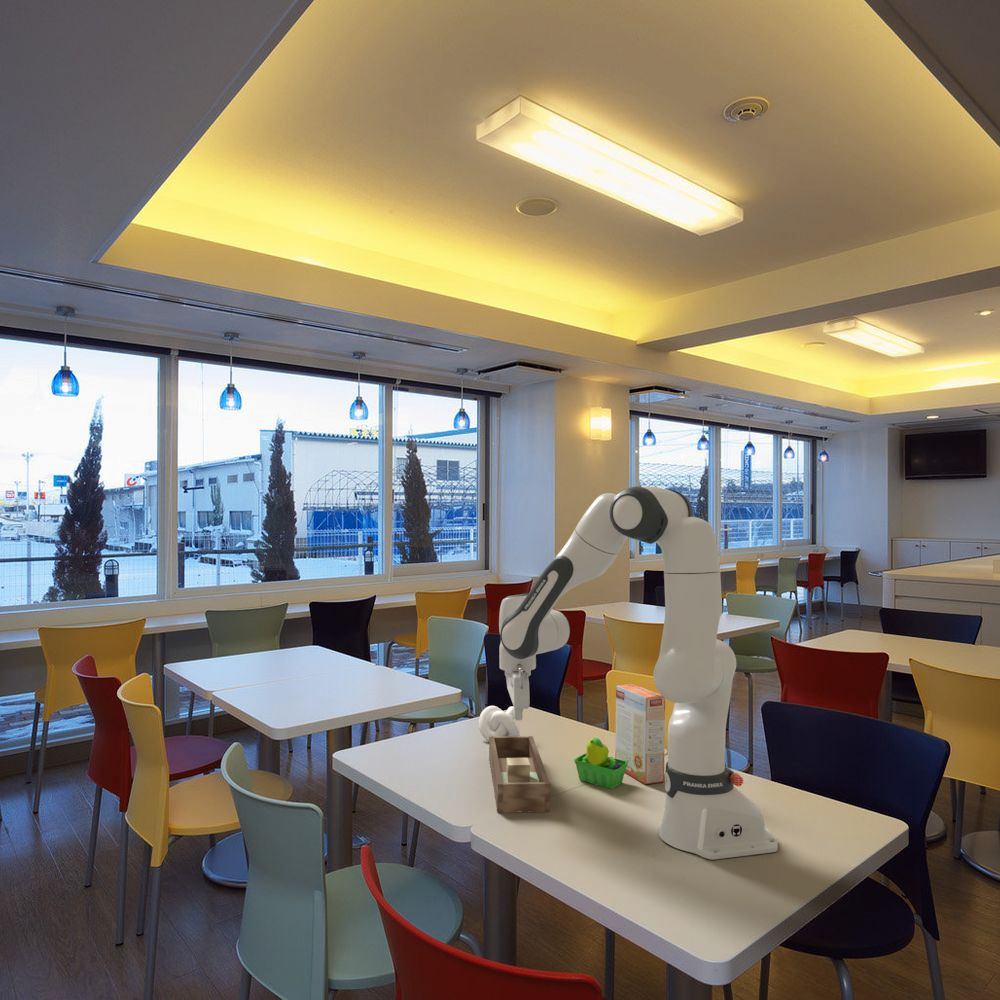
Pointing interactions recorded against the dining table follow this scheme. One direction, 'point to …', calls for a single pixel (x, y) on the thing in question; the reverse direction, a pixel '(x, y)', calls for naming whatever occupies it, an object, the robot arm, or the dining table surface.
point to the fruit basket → (600, 765)
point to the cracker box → (640, 732)
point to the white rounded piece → (497, 722)
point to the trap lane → (518, 793)
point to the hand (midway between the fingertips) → (518, 718)
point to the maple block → (517, 770)
